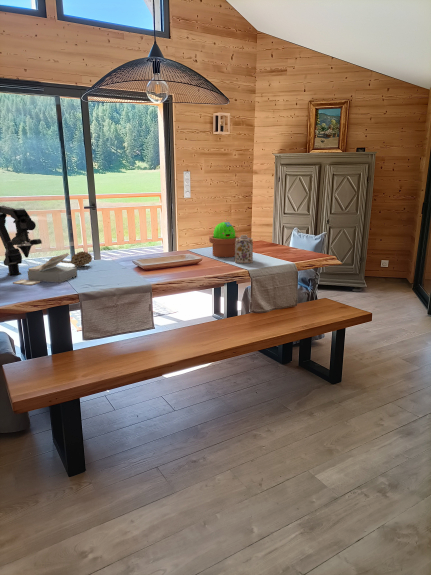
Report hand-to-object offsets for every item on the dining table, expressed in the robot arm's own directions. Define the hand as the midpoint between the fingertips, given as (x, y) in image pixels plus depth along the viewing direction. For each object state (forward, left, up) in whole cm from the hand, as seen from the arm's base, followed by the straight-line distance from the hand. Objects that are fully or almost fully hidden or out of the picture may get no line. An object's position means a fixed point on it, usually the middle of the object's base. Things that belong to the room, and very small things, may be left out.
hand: (26, 257), depth 240 cm
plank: (+10, -5, -13) cm, 17 cm away
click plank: (+11, +12, -3) cm, 16 cm away
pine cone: (-10, +32, -13) cm, 36 cm away
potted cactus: (+28, +130, -13) cm, 134 cm away
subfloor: (+9, +11, -12) cm, 19 cm away
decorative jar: (+53, +125, -13) cm, 137 cm away
